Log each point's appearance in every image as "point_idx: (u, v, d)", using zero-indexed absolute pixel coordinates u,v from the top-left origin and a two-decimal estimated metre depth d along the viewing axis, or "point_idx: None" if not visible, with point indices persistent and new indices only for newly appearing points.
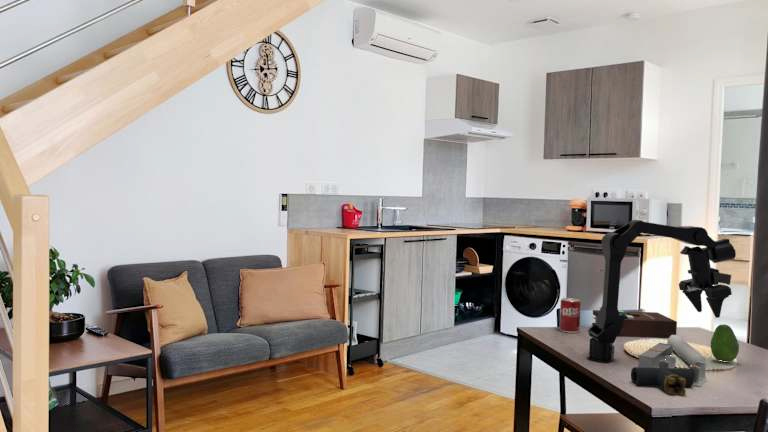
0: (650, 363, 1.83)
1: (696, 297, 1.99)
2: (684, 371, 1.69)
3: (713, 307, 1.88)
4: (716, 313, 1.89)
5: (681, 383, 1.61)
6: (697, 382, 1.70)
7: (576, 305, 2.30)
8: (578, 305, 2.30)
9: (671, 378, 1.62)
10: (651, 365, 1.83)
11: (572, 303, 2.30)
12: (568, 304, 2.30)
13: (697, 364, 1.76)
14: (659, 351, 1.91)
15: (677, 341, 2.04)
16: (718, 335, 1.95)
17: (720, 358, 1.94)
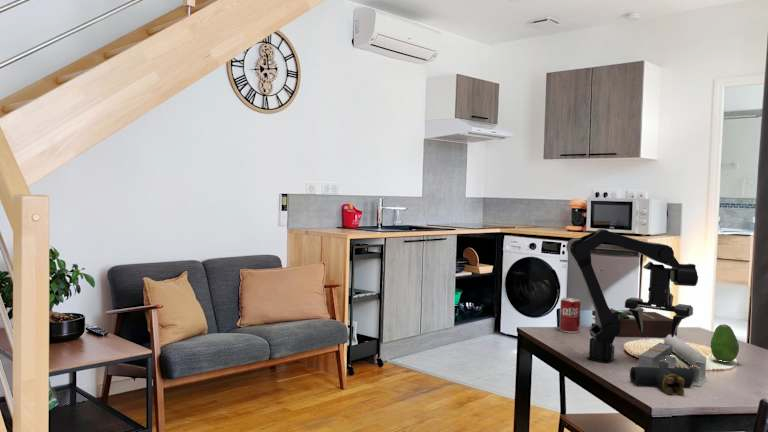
0: (650, 363, 1.83)
1: (641, 316, 1.95)
2: (683, 370, 1.69)
3: (676, 326, 1.87)
4: (674, 332, 1.89)
5: (679, 383, 1.61)
6: (697, 382, 1.70)
7: (576, 305, 2.30)
8: (578, 305, 2.30)
9: (669, 378, 1.62)
10: (651, 365, 1.83)
11: (572, 303, 2.30)
12: (568, 304, 2.30)
13: (697, 364, 1.76)
14: (659, 351, 1.91)
15: (675, 341, 2.05)
16: (718, 335, 1.95)
17: (720, 358, 1.94)
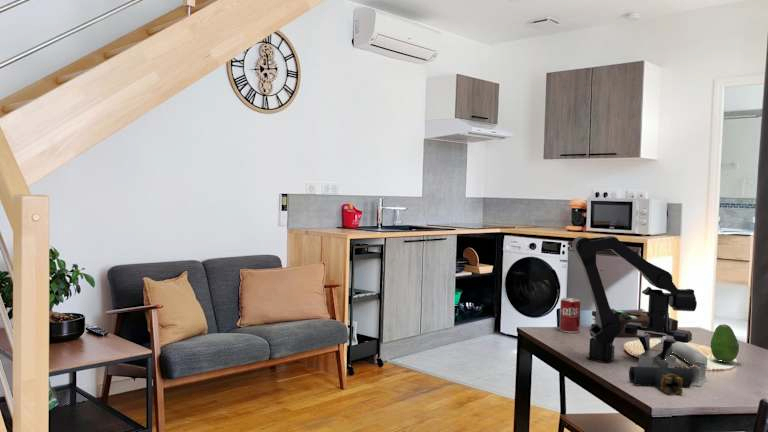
0: (650, 363, 1.83)
1: (648, 343, 1.94)
2: (682, 370, 1.69)
3: (666, 350, 1.89)
4: (665, 356, 1.91)
5: (678, 382, 1.62)
6: (697, 382, 1.70)
7: (576, 305, 2.30)
8: (578, 305, 2.30)
9: (668, 377, 1.62)
10: (651, 365, 1.83)
11: (572, 303, 2.30)
12: (568, 304, 2.30)
13: (697, 364, 1.76)
14: (659, 351, 1.91)
15: None
16: (718, 335, 1.95)
17: (720, 358, 1.94)
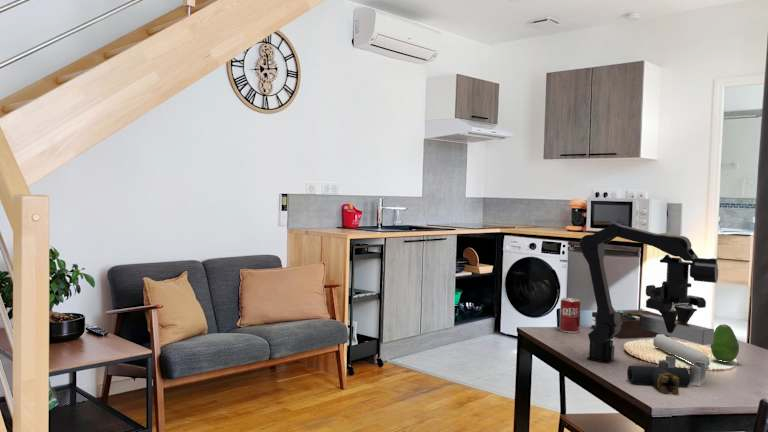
0: (711, 335, 1.72)
1: None
2: (680, 370, 1.70)
3: None
4: None
5: (674, 382, 1.62)
6: (697, 382, 1.70)
7: (576, 305, 2.30)
8: (578, 305, 2.30)
9: (664, 376, 1.63)
10: (712, 337, 1.72)
11: (572, 303, 2.30)
12: (568, 304, 2.30)
13: (697, 364, 1.76)
14: (680, 322, 1.81)
15: (668, 341, 2.04)
16: (718, 335, 1.95)
17: (720, 358, 1.94)
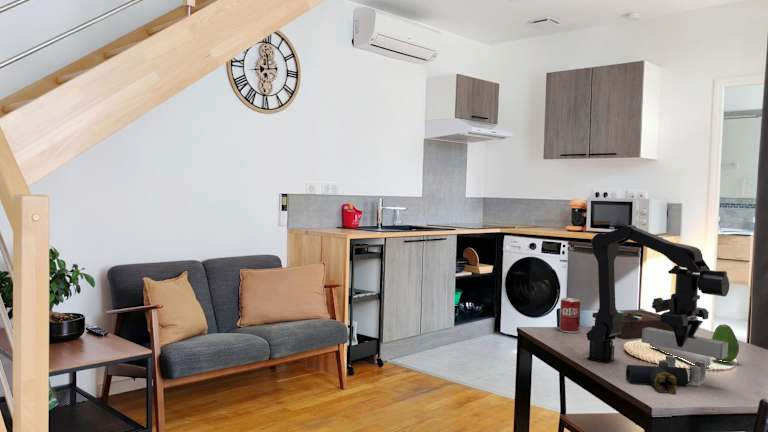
0: (726, 349, 1.69)
1: None
2: (679, 370, 1.70)
3: None
4: None
5: (671, 381, 1.63)
6: (697, 382, 1.70)
7: (576, 305, 2.30)
8: (578, 305, 2.30)
9: (661, 376, 1.64)
10: (727, 350, 1.69)
11: (572, 303, 2.30)
12: (568, 304, 2.30)
13: (697, 364, 1.76)
14: (688, 335, 1.76)
15: None
16: (718, 335, 1.95)
17: None
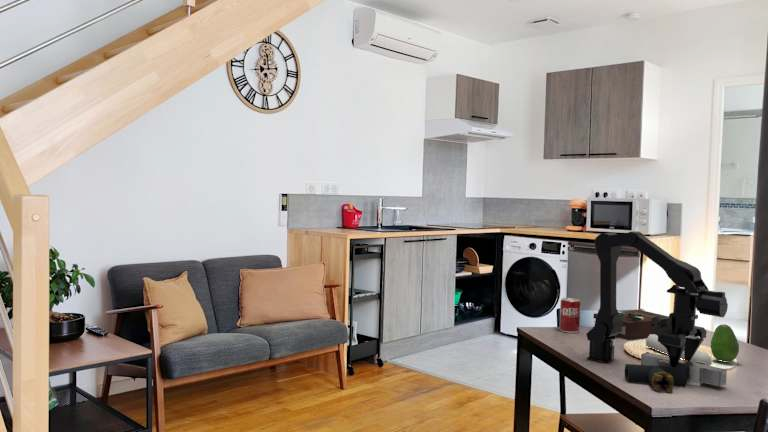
0: (725, 376, 1.69)
1: None
2: (677, 369, 1.70)
3: None
4: None
5: (668, 380, 1.63)
6: (697, 382, 1.70)
7: (576, 305, 2.30)
8: (578, 305, 2.30)
9: (658, 375, 1.64)
10: (725, 377, 1.69)
11: (572, 303, 2.30)
12: (568, 304, 2.30)
13: None
14: (687, 361, 1.76)
15: None
16: (718, 335, 1.95)
17: (720, 358, 1.94)
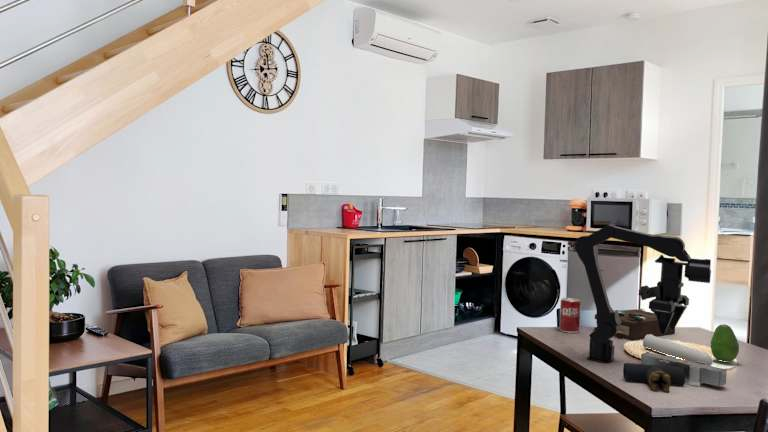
0: (725, 376, 1.69)
1: None
2: (676, 369, 1.70)
3: None
4: None
5: (665, 380, 1.64)
6: (697, 382, 1.70)
7: (576, 305, 2.30)
8: (578, 305, 2.30)
9: (655, 374, 1.65)
10: (725, 377, 1.69)
11: (572, 303, 2.30)
12: (568, 304, 2.30)
13: None
14: (687, 361, 1.76)
15: (662, 341, 2.04)
16: (718, 335, 1.95)
17: (720, 358, 1.94)
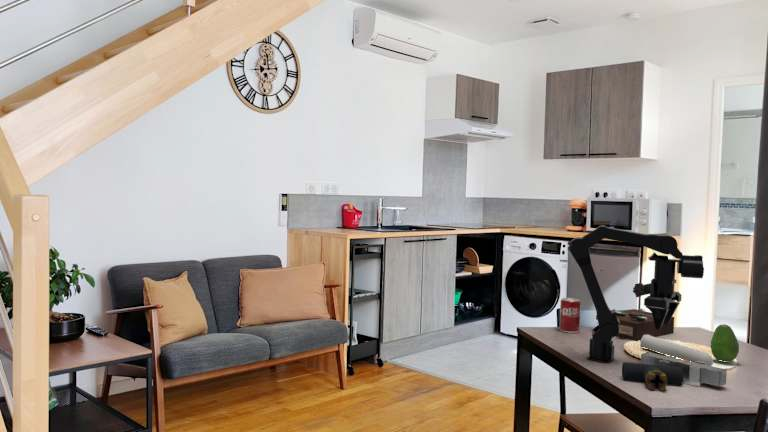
0: (725, 376, 1.69)
1: None
2: (674, 369, 1.71)
3: None
4: None
5: (661, 379, 1.64)
6: (697, 382, 1.70)
7: (576, 305, 2.30)
8: (578, 305, 2.30)
9: (651, 373, 1.65)
10: (725, 377, 1.69)
11: (572, 303, 2.30)
12: (568, 304, 2.30)
13: None
14: (687, 361, 1.76)
15: (660, 341, 2.03)
16: (718, 335, 1.95)
17: (720, 358, 1.94)
